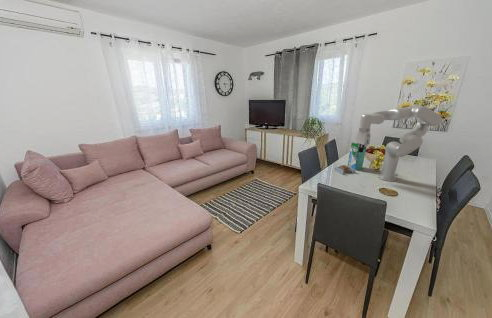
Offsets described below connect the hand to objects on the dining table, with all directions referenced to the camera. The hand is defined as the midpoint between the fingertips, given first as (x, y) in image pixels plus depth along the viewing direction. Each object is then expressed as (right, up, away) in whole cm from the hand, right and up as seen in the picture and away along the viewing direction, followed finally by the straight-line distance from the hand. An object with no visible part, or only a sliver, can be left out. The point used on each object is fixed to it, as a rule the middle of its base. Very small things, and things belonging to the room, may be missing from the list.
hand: (360, 152), depth 162 cm
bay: (-4, -18, +18) cm, 25 cm away
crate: (-4, -17, +19) cm, 26 cm away
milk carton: (+10, -15, +27) cm, 32 cm away
